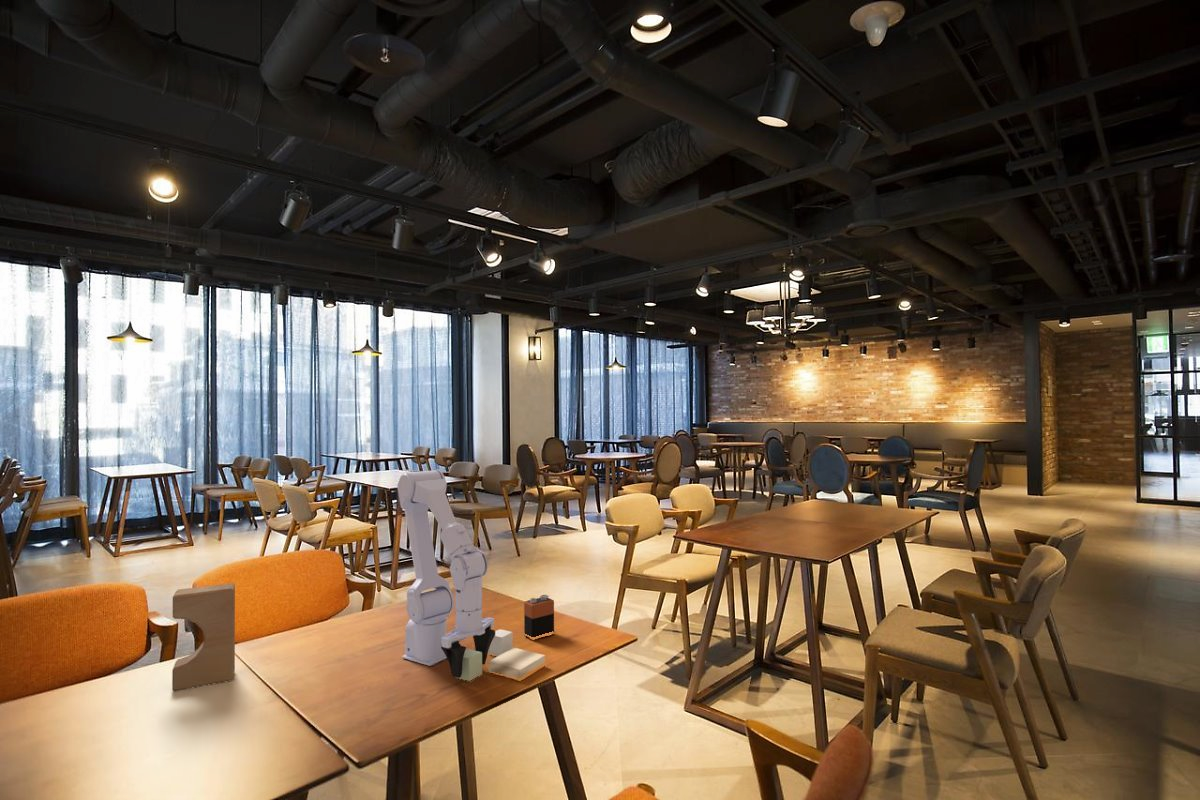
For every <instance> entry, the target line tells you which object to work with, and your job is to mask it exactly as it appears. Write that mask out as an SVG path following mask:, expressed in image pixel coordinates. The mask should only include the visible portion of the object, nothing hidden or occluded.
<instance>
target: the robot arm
mask: <svg viewBox="0 0 1200 800" xmlns="http://www.w3.org/2000/svg"><path fill="white" fill-rule="evenodd" d="M447 485H448V483H447V480H446V477H445V475H444V473H443V472H442V471H441V470H440V469H433V470H422V471H413V472H409V471H406V472H402V473H401V475H400V477H399V479H398V483H397V485H396V487H397V494H398V499H399V505H400V508H401V510H402V509H403V510H404V515H405V520H406V526H407V527H406V528H407V532H408V539H409V544H410V545H409V546H410V551H411V556H412V557H411V558H412V563H413V569H414V570H413V571H414V575H415V581H414V582H413V583H412V585H410V587H408V589H407V590H406V599H407V600H406V612H407V613H406V614H407V617H408V618H409V620H408V622H407V623H406V626H405V630H404V631H405V632H404V642H405V643H404V644H405V645H404V646H405V648H404V652H405V653H404V654H403V655H401V656H402V658H403V659H406V660H408V661H412V662H415V663H419V664H422V665H425V666H430V667H431V666H434V665H436V664H438V663H440V662H441V661H442V662H443V661H444V660H447V662H448V664H449V665H448V666H449V670H450V671H451V676H452V677H455V678H456V677H457V678H456V679H458V678H460V677H461V675H462V663H463V657H464V653H465V650H467V647H466V646H463V645H461V643H460V642H462V641H464V640H466V639H468V638H470V637H472V638H473V643H474V650H475V651H479V652H482V666H484V665H486V662H487V658H488V655H489V647H490V645H491V642H492V640H493V638H494V636H495V631H496V630H495V629H493V628H494V627H495V618H493V617H485V618H483V577H484V576H485V575H486V573H488V561H487V557H486V554H485V553H484V551H482V550H480V549H479V548H478V547H477V546H474V543H473V542H472V539H471V538H470V536H469V534H468V531H467V530H466V527H465V526H464V525H463V524H462V523H458V522H457V521H456V518H455V515H454V513H453V510H452V507H451V505H450V502H449V500H448V497H447V495H446V492H447V488H448V487H447ZM429 510H430V512H431V513H432V515H433V517H434V519H435V520H436V522H437V523H438V525H439V527H440V528H441V533H440V535H439V538H440V540H441V542H442V545H443V547H444V548H445V551H446V553H447V556H448V557H449V559H450V561H451V563H450V565H449V572H450V576H451V578H452V586H453V588H454V589H455V596H454V594H453V592H452V590H451V587H450V583H449V581H448V580H447V579H445V578H444V577H442V576H440V575H439V571H438V567H437V559H436V554H435V549H434V543H433V537H432V532H431V525H430V521H429V513H428V511H429ZM431 589H432V590H431ZM427 590H429V591H427ZM424 591H426V592H424ZM454 607H455V627H454V628H453V629H452V630H450V631H449V632H448V633H447V619H448V618H450V613H451V612H453V609H454Z"/></svg>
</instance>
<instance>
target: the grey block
mask: <svg viewBox="0 0 1200 800" xmlns="http://www.w3.org/2000/svg"><path fill="white" fill-rule="evenodd" d="M513 634H514V633H513V632H512V631H509V630H506V629H501V628H499V629H498V630H495V636H494V638H493V640H492V642H491V645H490V647H489V651H488V655H489V654H492V655H496V656H499V655H501V654H503V653H505V652H507V651H509V650H510V649H512V648H514V646H513V645H514V644H513V643H514V641H513V639H514V638H513V637H514V636H513Z"/></svg>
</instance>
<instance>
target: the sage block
mask: <svg viewBox="0 0 1200 800" xmlns="http://www.w3.org/2000/svg"><path fill="white" fill-rule="evenodd" d="M480 674H482V675H483V665H482V652H479V651H475V649H470V648H466V650H465V653H464V657H463V663H462V675H461V677H460V678H459V680H461V679H464V680H463V681H465V680H469V681H470V680H472V679H473V678H475V677H477V676H479V675H480ZM479 677H480V676H479ZM455 678H456V679H458V678H457V677H455ZM472 681H473V680H472ZM470 682H471V681H470Z"/></svg>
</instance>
